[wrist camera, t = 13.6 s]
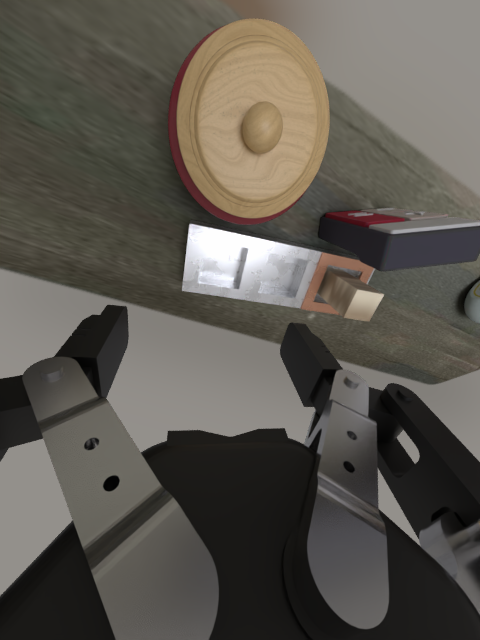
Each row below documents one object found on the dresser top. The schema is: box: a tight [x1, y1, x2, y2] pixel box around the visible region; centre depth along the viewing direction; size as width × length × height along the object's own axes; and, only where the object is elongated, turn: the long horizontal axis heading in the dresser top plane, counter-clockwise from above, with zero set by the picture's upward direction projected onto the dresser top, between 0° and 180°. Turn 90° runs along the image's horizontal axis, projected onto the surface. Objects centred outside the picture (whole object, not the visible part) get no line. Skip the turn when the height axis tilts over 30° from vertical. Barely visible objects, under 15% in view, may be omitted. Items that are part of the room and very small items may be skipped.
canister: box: [168, 19, 330, 225], centre depth 22 cm, size 13×13×18 cm
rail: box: [182, 220, 375, 315], centre depth 35 cm, size 9×28×4 cm, turn 77°
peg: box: [317, 267, 384, 321], centre depth 34 cm, size 4×4×10 cm
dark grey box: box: [319, 208, 480, 271], centre depth 29 cm, size 11×4×15 cm, turn 94°
